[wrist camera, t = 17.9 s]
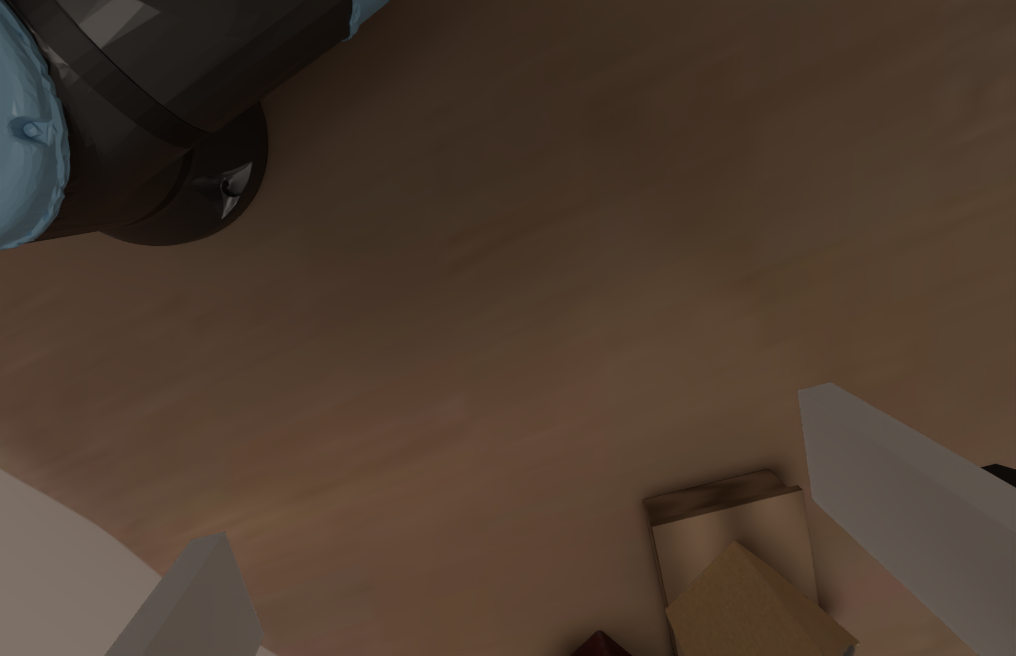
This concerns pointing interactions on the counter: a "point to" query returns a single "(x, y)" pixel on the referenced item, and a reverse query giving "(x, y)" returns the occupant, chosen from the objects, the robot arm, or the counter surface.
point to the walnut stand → (730, 532)
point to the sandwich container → (752, 613)
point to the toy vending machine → (600, 647)
